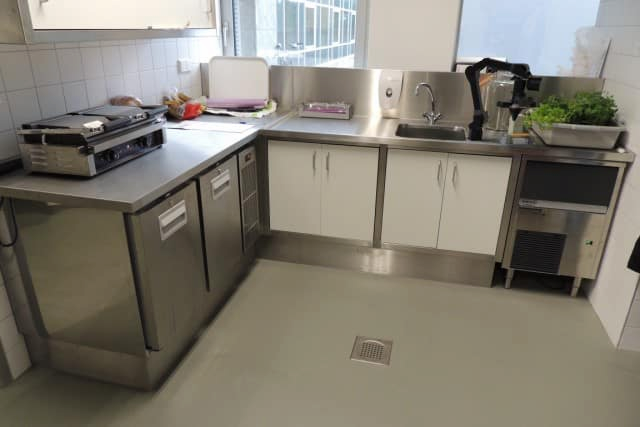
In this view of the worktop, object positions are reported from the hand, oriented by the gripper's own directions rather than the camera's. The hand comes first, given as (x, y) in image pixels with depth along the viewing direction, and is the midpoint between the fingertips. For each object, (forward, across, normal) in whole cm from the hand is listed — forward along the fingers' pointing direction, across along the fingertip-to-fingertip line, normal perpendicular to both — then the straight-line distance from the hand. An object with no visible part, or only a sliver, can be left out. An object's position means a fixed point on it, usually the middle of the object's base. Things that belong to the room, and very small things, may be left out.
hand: (513, 121), depth 238 cm
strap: (+9, +4, +2) cm, 10 cm away
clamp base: (+12, +5, +2) cm, 14 cm away
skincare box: (+13, +13, +19) cm, 26 cm away
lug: (+12, +10, -2) cm, 16 cm away
